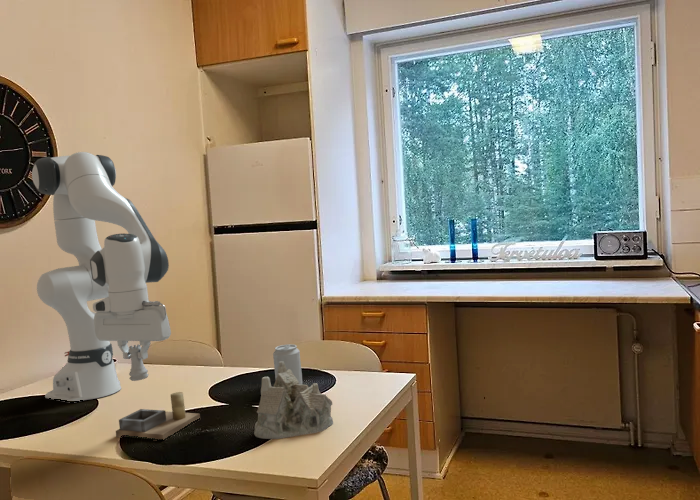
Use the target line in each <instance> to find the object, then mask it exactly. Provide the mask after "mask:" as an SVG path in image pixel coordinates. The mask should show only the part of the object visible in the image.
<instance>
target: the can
mask: <svg viewBox="0 0 700 500" xmlns="http://www.w3.org/2000/svg"><path fill="white" fill-rule="evenodd" d="M297 347H298V346H297V345H296V344H290V343H289V344H280V345H278V346H276V347H275V348H274V351H273V353H272V355H273V365H274V366H273V367H274V375H275V376H274V378H275V379H274V380H276V378H277V374H279V373H278V367H279V362H282V361H284V364H285V366H286V369H287V370H289V369H290V370H291V371H292V373H293V374H294V376H295V377H296V378H297V380H298V381H299V385H304V384H303V373H302V365H301V363H302V362H301V355H300V349H299V348H297Z"/></svg>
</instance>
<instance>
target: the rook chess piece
mask: <svg viewBox="0 0 700 500" xmlns="http://www.w3.org/2000/svg"><path fill="white" fill-rule="evenodd" d="M128 347H129V350H128V352H129V353H130V354H131V356H130V360H131V361H130V362H131V365H130V366H131V368H130V371H129V373H128V375H129V376H130V377H129V380H130V381H134V382H137V381H141V380H145V379H147V378H148V377H149V373H148V369H147V368H146V366H145V365H144V362H143V359H138V353H137V352H140V351H141V347H142V346H141V345H140V344H137V345H136V344H134V345H130V346H128Z"/></svg>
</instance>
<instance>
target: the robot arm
mask: <svg viewBox="0 0 700 500" xmlns="http://www.w3.org/2000/svg"><path fill="white" fill-rule="evenodd" d="M32 167H33V168H32V171H31V179H32V182H33V185H34V186H35V188H36V190H37V191H38V193H40V194H43V195H46V196H53V201H52V205H53V207H52V209H53V221H54V228H55V236H56V242H57V243H56V244H57V246H58V248H60V249H61V250H62V251H63V252H65V253H67V254H70V255H73V256H74V257H75V258H76V259H77V260H76V261H77V262H78V265H74V266H67V267H59V268H56V269H53V270H50V271H47V272H43V273H42V274H41V275H40V276H39V279H38V280H37V284H36V292H37V293H36V294H37V296H38V298H39V299H40V301H41V302H42V303H44V304H45V305H47V306H48V307H51V308H52V309H54V310H55V311H56V312H57V313H58V314H59V315H60V316H61V318H62V319H63V321H64V323H65V326H66V330H67V335H68V339H69V347H70V349H69V351H65V352H64V357H67V362H66V363H65V364H64V366H62V368H60V369H59V371H58V372H57V373H56V374H55V375H54V376H53V378H52V389H51V390H50V391H49V392H47V393H45V396H44V397H45V399H49V398H51V399H50V400H54V399H61V400H67V401H79V402H81V401H80V400H83V401H87V400H93V399H98V398H99V399H100V398H103V397H107V396H110V395H113V394H115V393H117V392H119V391H120V390H121V389H122V386H121V381H120V380H119V378H118V374H117V370H116V365H115V361H114V359H113V356H114V351H113V350H114V349H113V345H112V343H111V342H117V346H118V348H119V350H120V351H121V353H122V357H123V358H122V359H124V360H131V358H130V356H131V354H130V353H129V352H128V350H129V347H130V346H129V345H128V344H129V342H139V345H140V347H141V351H140V352H137V353H138V359H142V360H146V359H148V357H149V355H148V351H149V348H150V346H151V342H162V341H165V340H168V339H169V338H170V337H171V334H172V331H171V326H170V320H169V318H168V314H167V308H166V306H165V305H164V304H163V303H162V302H161V301H158V300H155V301H154V300H153V301H150V300H149V292H148V284H147V283H158V282H159V281H161V280H162V279H163V277H165V275H166V274H167V273H168V271H169V267H170V265H169V258H168V255H167V252H166V251H165V248H163V247H162V246H161V244H160V243H159V242H158V241H157V240H156V238H155V237H154V235H153V233H152V232H151V230H150V228H149V227H148V225H147V223H146V222H145V220H144V218H143V217H142V215H141V213H140V212H139V210H138V209H137V208H136V206H135V205H134V203H133V202H132V201H131V200H130V199H129V198H127V197H124V196H123V195H122V194H120V193H119V192H118V191H117V190H116V189H115V188H114V187H113V186H115V184H116V179H117V170H116V167H115V164H114V162H113V160H112V159H111V158H110V157H109V156H107V155H102V154H96V155H94V154H93V153H91V152H87V151H78V152H75V153H73V154H71V155H61V156H59V155H58V156H53V157H50V156H47V157H41V158H38V159H37V160H36V161H35V162H34V164H33V166H32ZM96 221H97V222H104V223H109V224H113V225H117V226H119V227H121V228H123V229H124V230H125V231H126V232H127V233H114V234H110V235H108V236H107V237H105V239H104V243H103V244H104V245H103V248H102V246H101V243H100V240H99V237H98V232H97V231H98V230H97V224H96ZM100 299H101V300H100ZM96 300H98V301H96ZM90 301H91V302H92V301H96V302H94V303H93V304H92V310H93V311H91V309H90V308H89V306H88V302H90Z"/></svg>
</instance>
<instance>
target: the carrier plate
mask: <svg viewBox="0 0 700 500" xmlns="http://www.w3.org/2000/svg"><path fill="white" fill-rule="evenodd" d="M184 397H185V396H184V393H183V392H182V391H179V392H178V391H177V392H176V391H175V392H173V393H171V394H170V401H171V402H170V403H171V411H166V410H164V409H163V410H162V409H149V408H148V409H146V408H140V409H138V410H136V411H134V412H131V413H130V414H128V415H125V416H124V417H122V418H120V419H118V425H119V429H117V430H115V436H116V438H122V437H121V436H122V435H129V436H138V437H147V438H155V439H163V440H164V439H165V438H167V437H168V436H170V435H172V434H174V433H175V432H177V431H179V430H180V429H182V428H184V427H185V426H187V425H188V424H190V423H191V422H193V421H195V420H197V419H199V418H200V419H201V414H200V413H196V412H186V410H185V409H186V408H185V407H186V406H185V398H184Z"/></svg>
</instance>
